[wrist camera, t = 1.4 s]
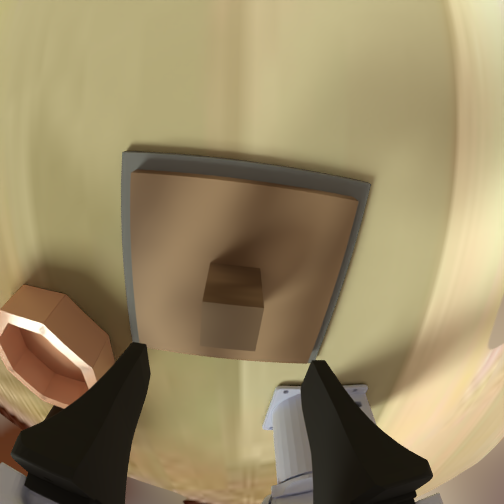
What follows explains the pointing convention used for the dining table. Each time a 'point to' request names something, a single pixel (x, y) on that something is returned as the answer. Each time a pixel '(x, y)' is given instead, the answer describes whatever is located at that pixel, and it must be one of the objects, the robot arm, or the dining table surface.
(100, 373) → the bowl
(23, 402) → the dining table surface
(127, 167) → the mat
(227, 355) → the lid
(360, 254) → the dining table surface
